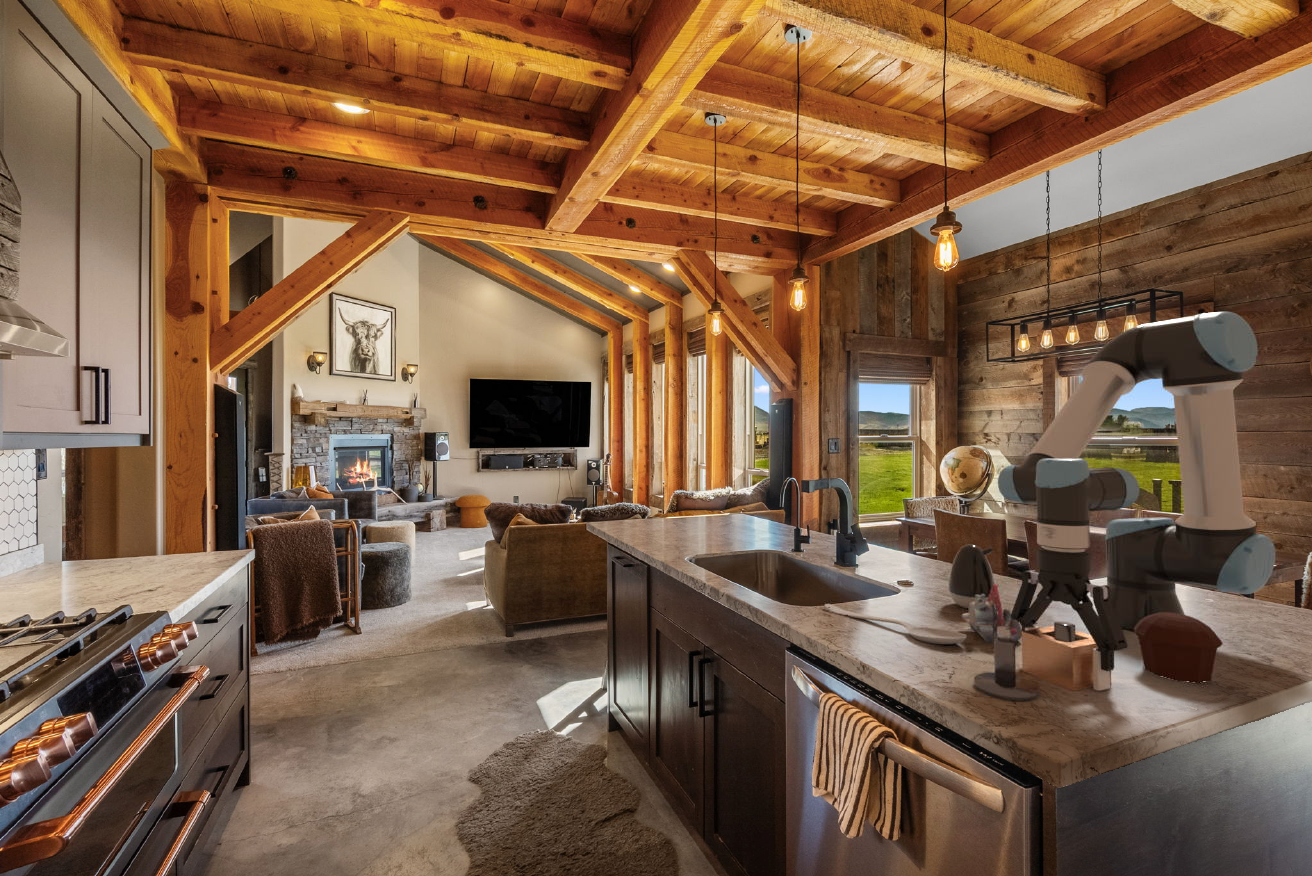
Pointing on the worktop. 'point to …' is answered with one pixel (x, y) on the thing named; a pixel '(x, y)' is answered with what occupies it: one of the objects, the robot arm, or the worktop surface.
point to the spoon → (910, 628)
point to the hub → (1005, 673)
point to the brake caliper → (990, 617)
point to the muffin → (1177, 646)
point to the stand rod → (1064, 631)
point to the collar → (1059, 658)
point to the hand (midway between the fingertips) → (1065, 675)
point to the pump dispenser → (970, 575)
